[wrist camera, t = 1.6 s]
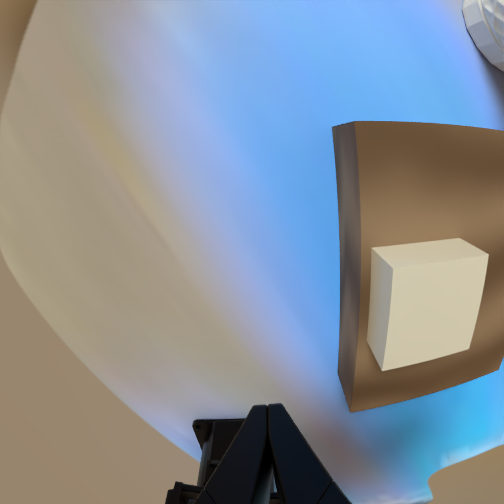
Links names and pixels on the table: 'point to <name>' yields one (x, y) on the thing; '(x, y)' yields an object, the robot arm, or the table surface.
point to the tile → (424, 300)
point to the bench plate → (416, 240)
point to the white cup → (486, 28)
